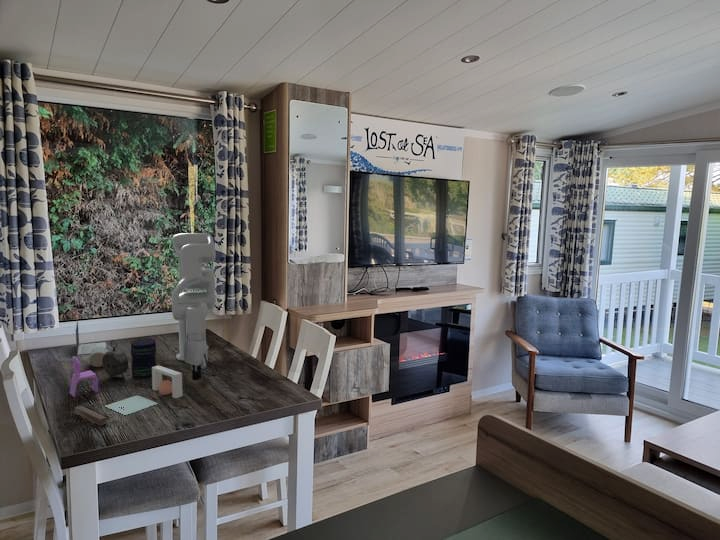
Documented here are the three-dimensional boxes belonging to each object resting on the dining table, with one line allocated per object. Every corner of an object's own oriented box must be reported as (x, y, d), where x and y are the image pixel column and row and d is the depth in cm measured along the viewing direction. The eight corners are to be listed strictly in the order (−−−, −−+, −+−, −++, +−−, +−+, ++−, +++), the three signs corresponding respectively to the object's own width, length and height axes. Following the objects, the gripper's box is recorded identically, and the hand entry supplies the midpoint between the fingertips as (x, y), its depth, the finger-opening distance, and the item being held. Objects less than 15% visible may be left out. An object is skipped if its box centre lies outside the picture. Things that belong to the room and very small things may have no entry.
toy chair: (99, 393, 195) (98, 355, 193) (74, 399, 189) (72, 360, 187) (92, 387, 201) (90, 350, 199) (68, 392, 195) (66, 355, 192)
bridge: (159, 387, 202) (158, 365, 201) (182, 396, 194) (181, 373, 193) (152, 389, 199) (151, 367, 198) (175, 398, 192) (175, 375, 190)
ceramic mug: (89, 368, 221) (88, 351, 220) (90, 363, 229) (90, 346, 228) (115, 366, 226) (115, 350, 225) (116, 361, 233) (116, 345, 232)
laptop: (106, 353, 245) (105, 327, 243) (76, 356, 239) (75, 329, 238) (105, 343, 261) (104, 318, 259) (78, 346, 255) (76, 320, 254)
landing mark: (137, 395, 193) (137, 395, 193) (158, 403, 186) (158, 403, 186) (104, 406, 183) (104, 406, 182) (125, 415, 175) (125, 415, 175)
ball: (167, 390, 199) (167, 377, 198) (176, 393, 196) (176, 380, 195) (155, 394, 195) (155, 381, 194) (164, 398, 191) (163, 384, 191)
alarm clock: (129, 378, 211) (128, 340, 209) (118, 382, 207) (117, 343, 204) (111, 373, 216) (109, 337, 214) (100, 377, 211) (98, 340, 209)
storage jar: (151, 370, 222) (150, 337, 220) (160, 376, 215) (159, 342, 213) (128, 375, 215) (126, 341, 213) (137, 381, 208) (135, 346, 206)
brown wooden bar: (81, 412, 177) (80, 405, 177) (106, 424, 168) (106, 417, 168) (75, 414, 175) (74, 407, 175) (100, 426, 167) (100, 419, 166)
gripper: (176, 334, 207) (177, 378, 209) (200, 341, 198) (201, 386, 201) (191, 331, 213) (192, 373, 215) (215, 337, 205) (216, 380, 207)
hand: (196, 379), depth 208 cm, fingers closed
